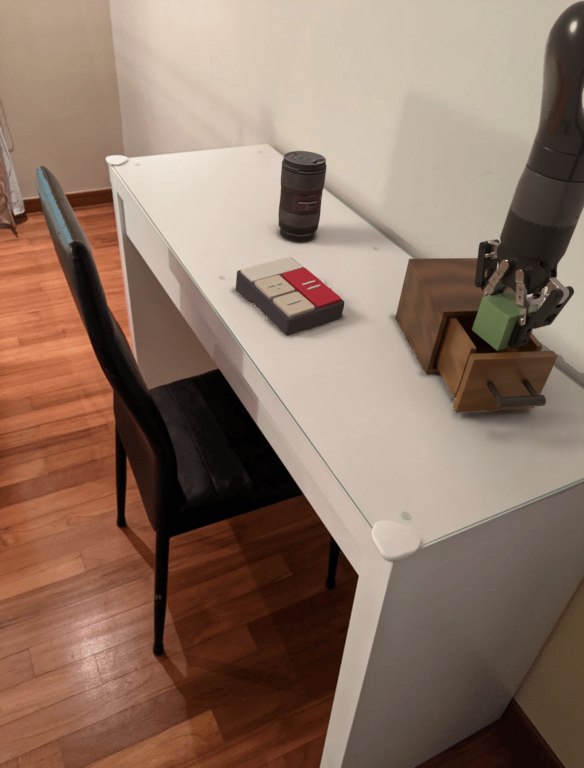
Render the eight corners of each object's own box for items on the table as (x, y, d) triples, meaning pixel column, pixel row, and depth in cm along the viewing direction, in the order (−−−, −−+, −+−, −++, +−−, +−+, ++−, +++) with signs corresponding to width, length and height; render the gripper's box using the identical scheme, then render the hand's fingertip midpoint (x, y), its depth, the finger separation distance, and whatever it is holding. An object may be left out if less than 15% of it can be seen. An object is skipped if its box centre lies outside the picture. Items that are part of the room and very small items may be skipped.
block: (500, 322, 82) (511, 290, 79) (526, 343, 79) (539, 310, 76) (471, 330, 80) (482, 297, 77) (497, 351, 77) (509, 317, 74)
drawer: (550, 431, 79) (576, 378, 73) (469, 436, 77) (489, 383, 71) (492, 348, 92) (510, 298, 87) (421, 351, 90) (435, 300, 85)
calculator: (289, 316, 89) (236, 266, 98) (286, 339, 92) (234, 289, 101) (347, 298, 95) (291, 252, 103) (342, 320, 98) (288, 274, 106)
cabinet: (506, 370, 90) (530, 309, 83) (425, 374, 88) (443, 311, 81) (467, 315, 101) (485, 257, 94) (395, 317, 98) (408, 258, 92)
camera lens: (323, 231, 121) (333, 155, 111) (309, 248, 115) (318, 168, 105) (285, 222, 123) (292, 146, 113) (270, 237, 117) (275, 159, 107)
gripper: (619, 232, 65) (561, 359, 76) (524, 182, 75) (485, 301, 86) (569, 242, 62) (516, 372, 73) (477, 188, 72) (442, 311, 83)
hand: (499, 333), depth 79 cm, fingers closed on block, 5 cm apart
